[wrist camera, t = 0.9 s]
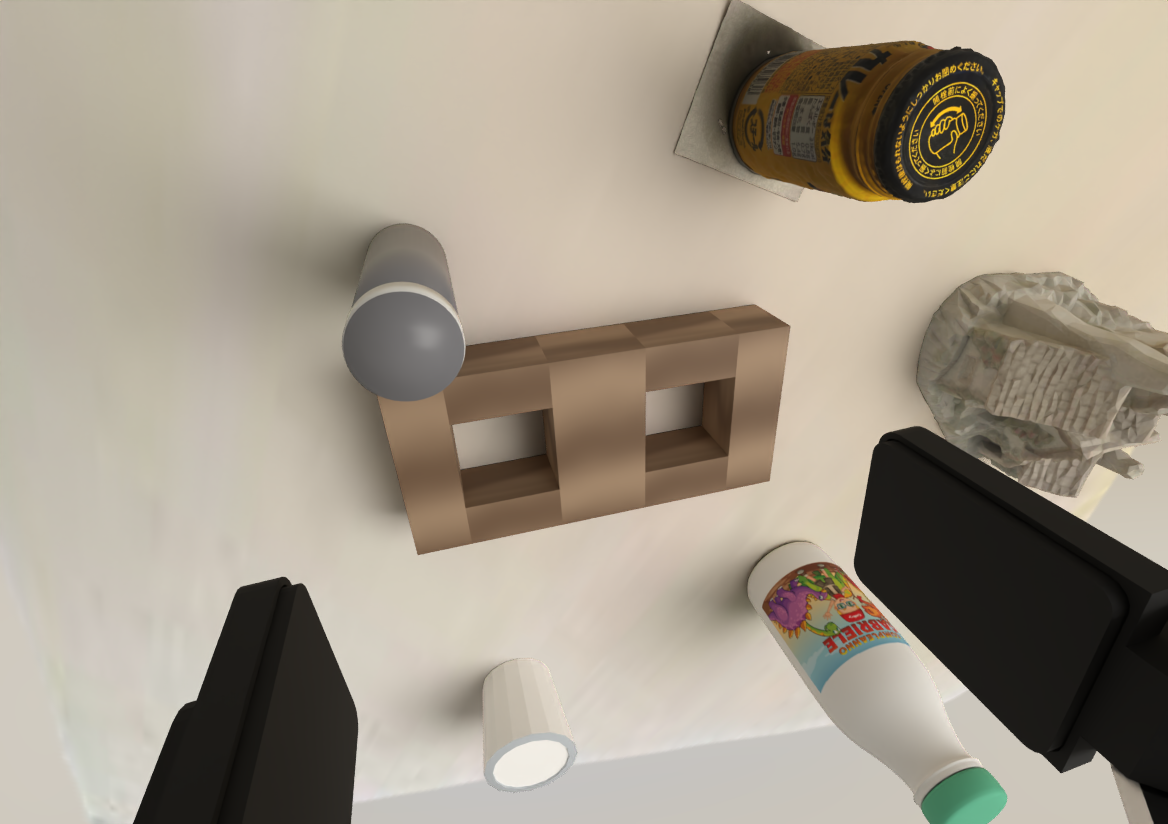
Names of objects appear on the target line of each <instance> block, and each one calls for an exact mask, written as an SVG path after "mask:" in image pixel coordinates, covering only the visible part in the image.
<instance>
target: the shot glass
mask: <svg viewBox="0 0 1168 824" xmlns="http://www.w3.org/2000/svg"><path fill="white" fill-rule="evenodd" d="M482 689H483V757H484V776H485V778H486V781H487V783H488V784H489V785H490V786H492V787H494V788H495V789H497V790H499V791H506V792H513V793H515V792H523V791H531V790H534V789H537V788H539V787H542V786H545V785H548V784H550V783H551V782H553V781H554V780H556V779H558V778H559V777H561V776H562V775H564V774H565V772H566V771H567V770H568V769H569V768H570V767H571V766H572V765H573V763H574V760H575V758H576V755H577V750H576V746H575V742H574V740H573V737H572V734H571V731H570V728H569V725H568V723H567V720H566V717H565V714H564V711H563V708H562V706H561V703H560V700H559V697H558V694H557V691H556V689H555V686H554V683H553V680H552V677H551V674H550V671H549V669H548V667H547V666H546V665H545V664H544V663H543V662H541V661H539V660H535V659H532V658H520V659H514V660H511V661H508V662H505V663H502V664H501V665H499V666H498V667H496V668H495V669H493V670H492V671H491V672H490V673H489V675H488V676H487V677H486V678H485V680H484V684H483V688H482Z"/></svg>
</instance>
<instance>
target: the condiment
mask: <svg viewBox="0 0 1168 824" xmlns="http://www.w3.org/2000/svg"><path fill="white" fill-rule="evenodd" d="M767 51H770V54H767ZM1004 115H1005V86H1004V83H1003V80H1002V77H1001V75H1000V73H999V71H998V69H997V66H996V65H995V63H994V62H993V61H992V60H991V59H990V58H988V57H985V56H983V55H982V54H980V53H978V52H974V51H973V50H972V49H961V47H957V46H956V47H954V48H952V49H950V50H942V49H934V48H932V47H931V46H928V45H925V44H923V43H921V42H916V41H899V42H887V43H878V44H870V45H861V46H851V47H850V46H849V47H840V48H829V49H827V48H824V47H822V46H820V45H819V44H817V43H815V42H813V41H812V40H810V39H808V38H806V37H804V36H803V35H801V34H799V33H798V32H795V31H794V30H793V29H791V28H789V27H788V26H785V25H783V24H781V23H779V22H777V21H776V20H774V19H772V18H770V17H768V16H766V15H765V14H763V13H761V12H759V11H757V10H756V9H754V8H752V7H751V6H749V5H747V4H745V3H743V2H741V1H739V0H731V3H730V5H729V8H728V10H727V13H726V16H725V18H724V20H723V22H722V25H721V28H720V30H719V33H718V35H717V38H716V40H715V43H714V46H713V49H712V52H711V54H710V56H709V59H708V61H707V64H706V67H705V69H704V72H703V75H702V78H701V81H700V83H699V86H698V88H697V90H696V93H695V96H694V99H693V103H692V105H691V109H690V111H689V114H688V116H687V119H686V121H685V124H684V126H683V130H682V133H681V136H680V139H679V141H678V144H677V147H676V150H675V152H674V153H675V154H678V155H680V156H683V157H686V158H688V159H691V160H693V161H695V162H698V163H701V164H703V165H706V166H708V167H711V168H714V169H716V170H718V171H721V172H723V173H726V174H728V175H731V176H733V177H736V178H738V179H740V180H743V181H745V182H748V183H750V184H753V185H755V186H758V187H760V188H763V189H765V190H768V191H770V192H773V193H776V194H778V195H781V196H783V197H785V198H788V199H791V200H793V201H796V202H798V200H799V198H800V195H801V193H802V191H803V189H804V188H808V189H811V190H813V189H815V190H819V191H824V192H828V193H832V194H835V195H838V196H844V197H847V198H849V199H851V198H852V199H855V200H858V201H863V202H867V201H868V202H874V201H882V200H889V199H891V200H903V201H906V202H909V203H911V202H912V203H923V202H928V201H931V200H935V199H944V198H946V197H948V196H950V195H952V194H953V193H954V192H956V191H957V190H959V189H960V188H961V187H962V186H964V185H965V184H966V183H967V182H968V181H969V180H970V179H971V178H972V177H973V176H974V175H975V174H976V173H977V172H978V171H979V169H980V168H981V167H982V166H983V164H984V163H985V161H986V159H987V157H988V156H989V154H990V153H991V152H992V149H993V147H994V145H995V143H996V142H997V141H998V140H999V137H1000V136H999V132H1000V128H1001V126H1002V123H1003V119H1004ZM719 119H721V120H722V122H723V127H724V128H725V129H726V132H725V134H723V131H722V128H723V127H721V126H720V125H719V123H718V122H719Z"/></svg>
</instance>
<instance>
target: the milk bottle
mask: <svg viewBox="0 0 1168 824" xmlns="http://www.w3.org/2000/svg"><path fill="white" fill-rule="evenodd" d="M747 589H748V597H749V600H750V602H751V603H752V605H753V607H754V608H755V610H756V611H757V613H758V614H759V616H760V617H761V619H762V620H763V622H764V623H765V625H766V626H767V628H768V629H769V631H770V632H771V634H772V635H773V637H774V638H775V640H776V641H777V643H778V644H779V646H780V647H781V649H782V650H783V652H784V653H785V655H786V656H787V658H788V659H789V661H790V662H791V664H792V665H793V667H794V668H795V670H796V671H797V673H798V674H799V676H800V677H801V678H802V680H803V681H804V683H805V684H806V686H807V687H808V689H809V690H810V692H811V693H812V695H813V696H814V697H815V699H816V700H817V701H818V703H819V704H820V706H821V707H822V708H823V710H824V711H825V712H826V714H827V715H828V717H829V718H830V719H831V720H832V721H833V723H834V724H835V725H836V726H837V727H838V728H839V729H840V730H841V731H842V732H843V733H844V734H845V735H846V736H847V737H848V738H849V739H850V740H852V741H853V742H854V743H855V744H857V745H858V746H860V747H861V748H862V749H864V750H865V751H867V752H868V753H870V754H871V755H873V756H874V757H875V758H877V759H878V760H880V761H881V762H882V763H884V764H885V765H886V766H887V767H888V768H890V769H891V770H892V771H893V772H894V773H895V774H896V775H898V776H899V777H900V778H901V779H902V780H903V781H904V782H905V783H906V784H907V785H908V787H909V788H910V789H911V791H912V792H913V794H914V802H915V803H916V804H917V805H919V807H920V808H921V809H922V812H923V814H924V816H925V817H926V819H927V820H928V822H929V823H930V824H987V823H989V822H990V821H991V820H992V819H994V818H995V817H996V816H997V815H998V814H999V813H1000V812H1001V810H1002V809H1003V808H1004V806H1005V804H1006V802H1007V795H1006V793H1005V791H1004V789H1003V788H1002V787H1001V786H1000V784H999V783H998V782H997V780H996V779H995V778H994V777H993V776H992V775H991V774H990V773H989V772H988V771H987V770H986V769H984V767H983V766H982V765H981V762H980V761H979V760H978V759H976V758H972V757H971V756H970V755H969V754H968V753H967V752H966V750H965V749H964V748H963V746H962V744H961V743H960V741H959V739H958V737H957V735H956V734H955V732H954V730H953V728H952V725H951V724H950V721H949V718H948V716H947V713H946V710H945V708H944V705H943V702H942V699H941V696H940V693H939V691H938V688H937V686H936V684H935V682H934V680H933V678H932V676H931V674H930V673H929V671H928V669H927V668H926V666H925V665H924V663H923V662H922V661H921V659H920V658H919V656H918V655H917V654H916V653H915V652H914V650H913V649H912V648H911V647H910V646H909V644H908V643H907V642H906V641H905V640H904V638H903V637H902V636H901V635H900V634H899V633H898V631H897V630H896V629H895V628H894V627H893V626H892V625H891V624H890V622H889V621H888V620H887V619H886V618H885V617H884V616H883V615H882V613H881V612H880V611H879V610H878V609H877V608H876V607H875V606H874V604H873V603H872V602H871V601H870V600H869V599H868V598H867V597H866V596H865V594H864V593H863V592H862V591H861V590H860V589H859V588H858V587H857V586H856V584H855V583H854V582H853V581H852V580H851V579H850V578H849V577H848V576H847V575H846V573H845V572H844V571H843V570H842V569H841V568H840V567H839V566H838V565H837V564H836V562H835V561H834V560H833V559H832V558H831V557H830V556H829V555H828V554H827V553H826V552H825V551H824V550H823V549H822V548H821V547H819V546H817V545H815V544H812V543H809V542H793V543H788V544H786V545H783V546H780V547H779V548H777V549H775V550H773V551H772V552H770V553H769V554H767V555H766V556H765V557H764V558H763V559H762V560H760V561H759V563H758V564H757V565H756V566H755V567H754V569H753V571H752V572H751V574H750V577H749V579H748V585H747Z"/></svg>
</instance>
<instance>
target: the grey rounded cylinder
mask: <svg viewBox="0 0 1168 824" xmlns="http://www.w3.org/2000/svg"><path fill="white" fill-rule="evenodd" d="M342 350H343V355H344V358H345V361H346V364H347V366H348V368H349V370H350V372H351V373H352V375H353V376H354V377H355V379H356V380H357V381H358V382H359V383H360V384H361V385H362V386H364V387H365V388H366V389H367V390H369V391H371V392H372V393H374V394H376V395H378V396H380V397H383V398H386V399H390V400H394V401H408V402H409V401H418V400H422V399H426V398H429V397H431V396H433V395H436V394H438V393H439V392H441V391H442V390H444V389H445V388H446V387H447V386H448V385H449V384H450V383H451V382H452V381H453V380H454V379H455V377H456V376H457V374H458V372H459V371H460V369H461V367H462V364H463V361H464V356H465V338H464V333H463V329H462V324H461V321H460V319H459V316H458V312H457V307H456V302H455V298H454V293H453V288H452V283H451V279H450V274H449V269H448V265H447V260H446V256H445V252H444V250H443V248H442V246H441V244H440V243H439V241H438V240H437V239H436V238H435V237H434V236H433V235H432V234H431V233H430V232H428V231H427V230H425V229H423V228H421V227H418V226H416V225H411V224H396V225H392V226H389V227H387V228H385V229H383V230H382V231H380V232H379V233H378V234H377V235H376V236H375V237H374V238H373V240H372V241H371V243H370V245H369V248H368V251H367V255H366V258H365V262H364V265H363V269H362V273H361V276H360V280H359V283H358V287H357V290H356V294H355V298H354V301H353V305H352V308H351V310H350V312H349V315H348V317H347V320H346V324H345V327H344V331H343V336H342Z"/></svg>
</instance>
